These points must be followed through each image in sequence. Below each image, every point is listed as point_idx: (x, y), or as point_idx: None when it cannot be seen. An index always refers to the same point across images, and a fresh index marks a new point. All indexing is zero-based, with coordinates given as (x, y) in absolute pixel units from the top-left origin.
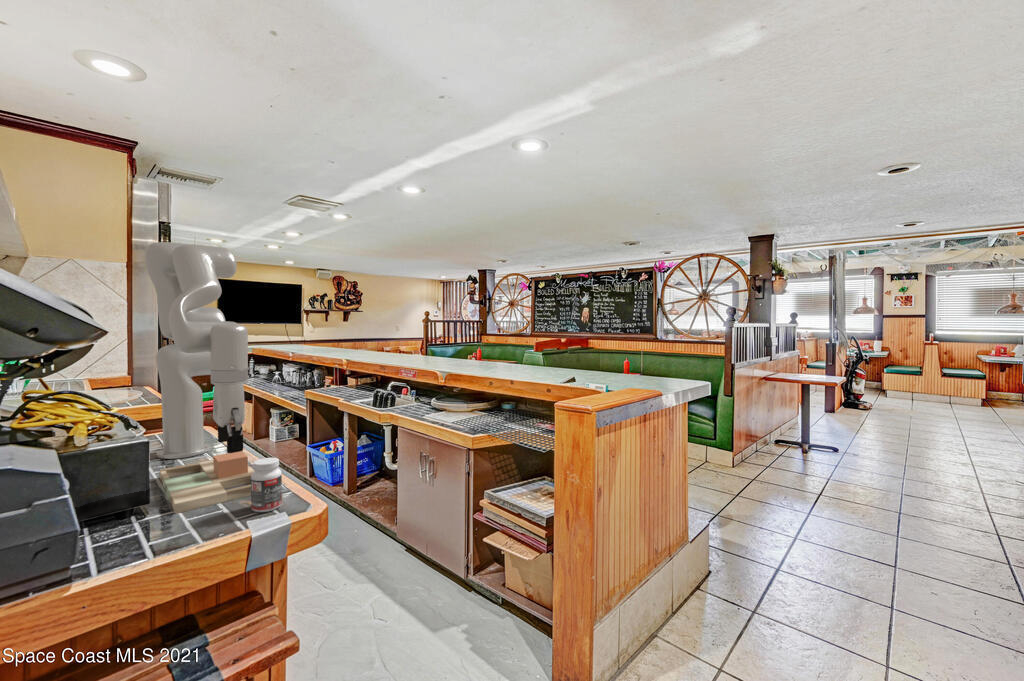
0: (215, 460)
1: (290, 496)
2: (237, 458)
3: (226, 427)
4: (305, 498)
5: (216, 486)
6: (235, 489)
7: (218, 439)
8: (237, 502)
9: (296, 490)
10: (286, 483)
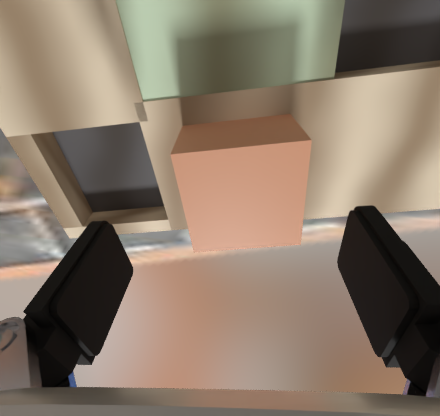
0: (249, 141)
1: (31, 252)
2: (187, 223)
3: (385, 327)
4: (11, 269)
5: (85, 110)
6: (30, 163)
7: (366, 216)
8: (13, 151)
9: None
10: (129, 258)
